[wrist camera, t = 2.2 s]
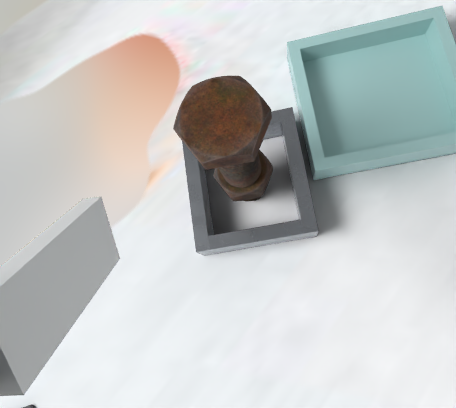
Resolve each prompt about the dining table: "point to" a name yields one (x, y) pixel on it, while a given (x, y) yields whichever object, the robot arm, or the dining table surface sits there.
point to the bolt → (228, 134)
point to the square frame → (257, 236)
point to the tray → (376, 93)
